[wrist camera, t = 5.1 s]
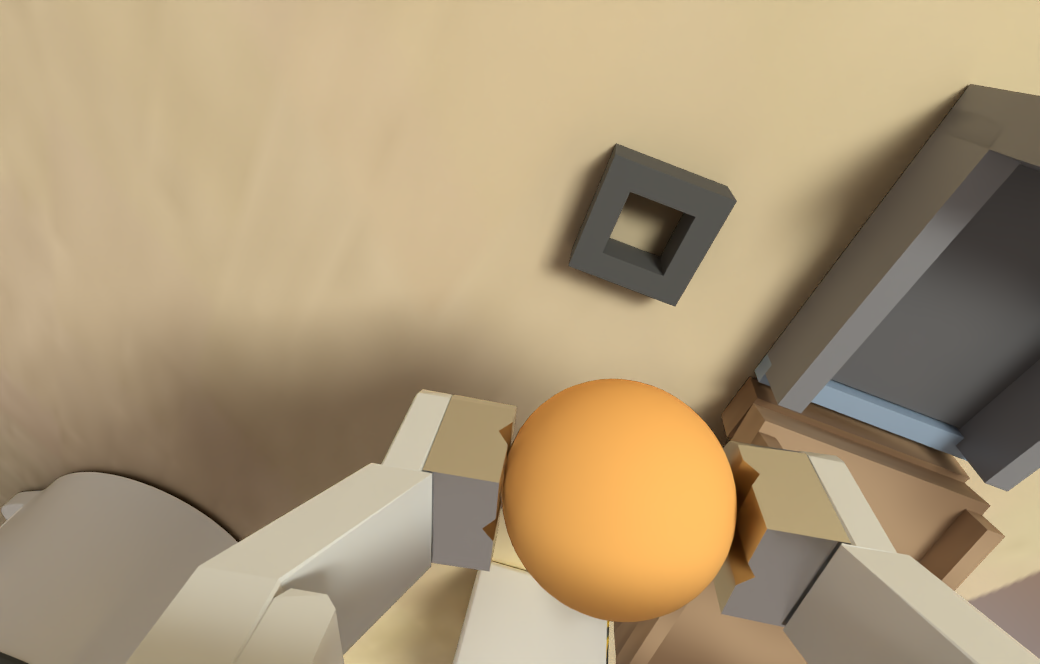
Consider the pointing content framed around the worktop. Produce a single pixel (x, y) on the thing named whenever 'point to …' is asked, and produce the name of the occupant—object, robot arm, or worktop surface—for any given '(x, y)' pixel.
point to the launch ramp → (889, 492)
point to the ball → (619, 500)
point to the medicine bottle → (526, 624)
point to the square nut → (687, 244)
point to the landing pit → (938, 299)
